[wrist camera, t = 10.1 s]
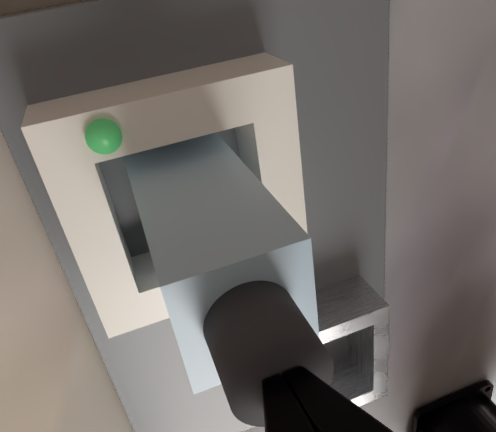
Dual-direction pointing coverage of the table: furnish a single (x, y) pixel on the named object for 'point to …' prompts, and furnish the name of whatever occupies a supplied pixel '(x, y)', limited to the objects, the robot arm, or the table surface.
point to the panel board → (201, 54)
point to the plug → (228, 270)
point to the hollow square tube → (356, 337)
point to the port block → (149, 137)
